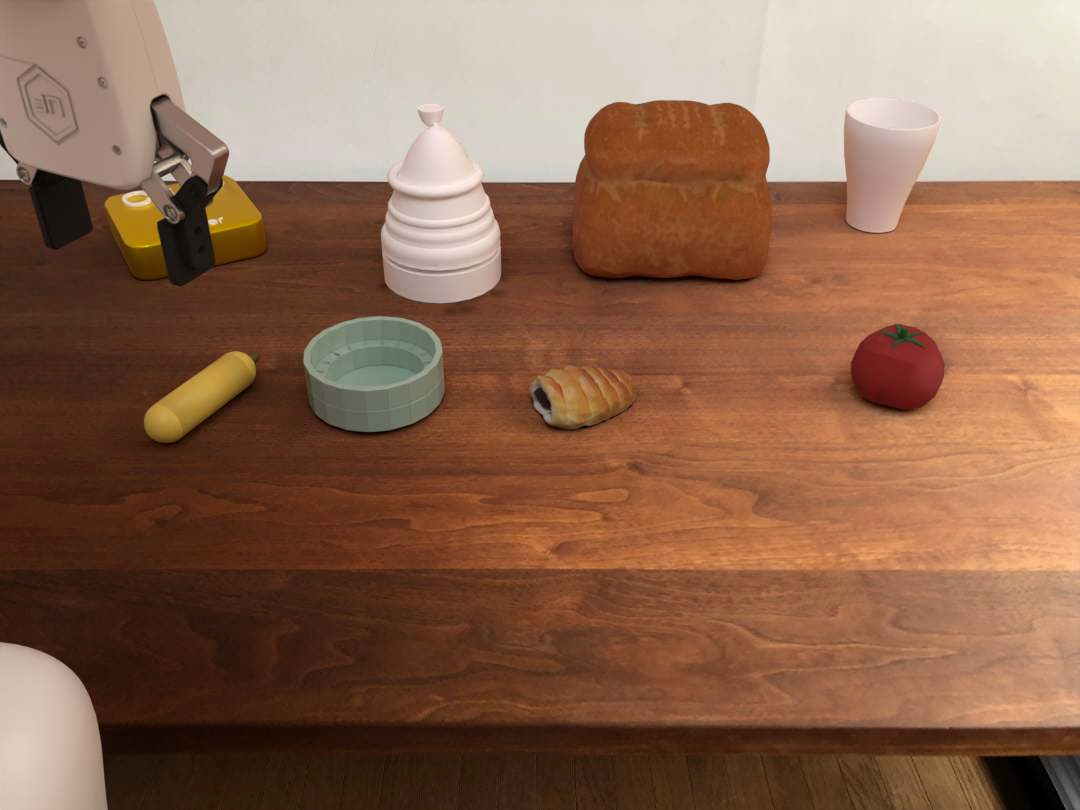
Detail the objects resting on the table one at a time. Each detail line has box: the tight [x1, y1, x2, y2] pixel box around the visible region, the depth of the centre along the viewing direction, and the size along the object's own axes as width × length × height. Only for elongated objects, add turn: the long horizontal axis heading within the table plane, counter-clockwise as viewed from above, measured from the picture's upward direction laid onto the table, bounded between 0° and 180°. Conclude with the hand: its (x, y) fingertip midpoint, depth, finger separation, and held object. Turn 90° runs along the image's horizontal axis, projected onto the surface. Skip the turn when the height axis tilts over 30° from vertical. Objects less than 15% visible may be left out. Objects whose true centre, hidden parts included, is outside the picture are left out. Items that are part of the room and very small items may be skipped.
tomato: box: [850, 322, 946, 411], centre depth 95 cm, size 8×8×7 cm
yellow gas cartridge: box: [143, 350, 260, 444], centre depth 94 cm, size 14×4×4 cm
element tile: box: [104, 174, 268, 281], centre depth 120 cm, size 15×15×5 cm
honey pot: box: [380, 103, 502, 304], centre depth 111 cm, size 13×13×18 cm
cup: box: [843, 97, 942, 234], centre depth 123 cm, size 10×10×14 cm
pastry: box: [529, 364, 637, 430], centre depth 94 cm, size 9×7×4 cm
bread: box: [572, 99, 773, 281], centre depth 115 cm, size 18×22×17 cm
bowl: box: [302, 315, 446, 433], centre depth 95 cm, size 12×12×5 cm
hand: (130, 257), depth 63 cm, fingers open, 9 cm apart
